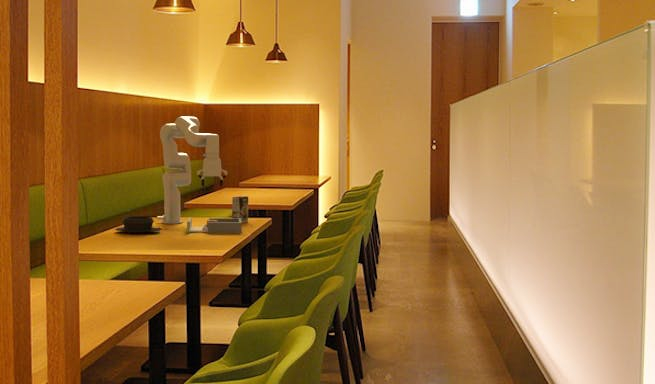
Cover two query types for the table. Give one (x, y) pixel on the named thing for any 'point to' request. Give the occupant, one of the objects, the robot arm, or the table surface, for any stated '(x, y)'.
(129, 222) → the casserole
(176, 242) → the table surface
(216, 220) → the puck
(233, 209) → the coffee box
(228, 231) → the frame
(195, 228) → the tray
